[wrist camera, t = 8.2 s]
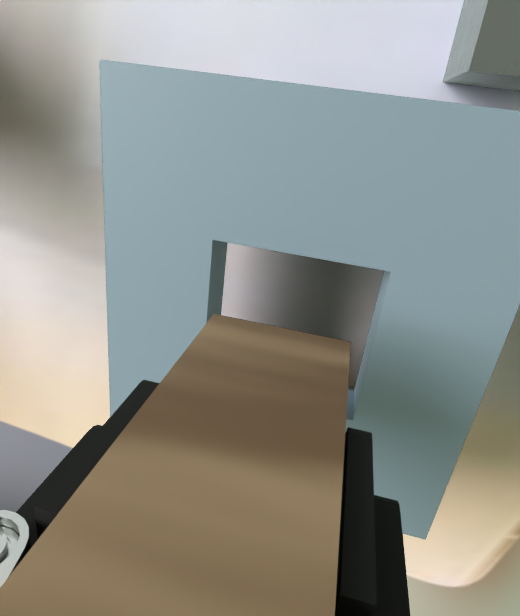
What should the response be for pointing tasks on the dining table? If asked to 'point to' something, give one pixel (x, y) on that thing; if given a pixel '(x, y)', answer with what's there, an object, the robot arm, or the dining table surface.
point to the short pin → (486, 45)
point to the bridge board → (319, 239)
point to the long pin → (208, 490)
